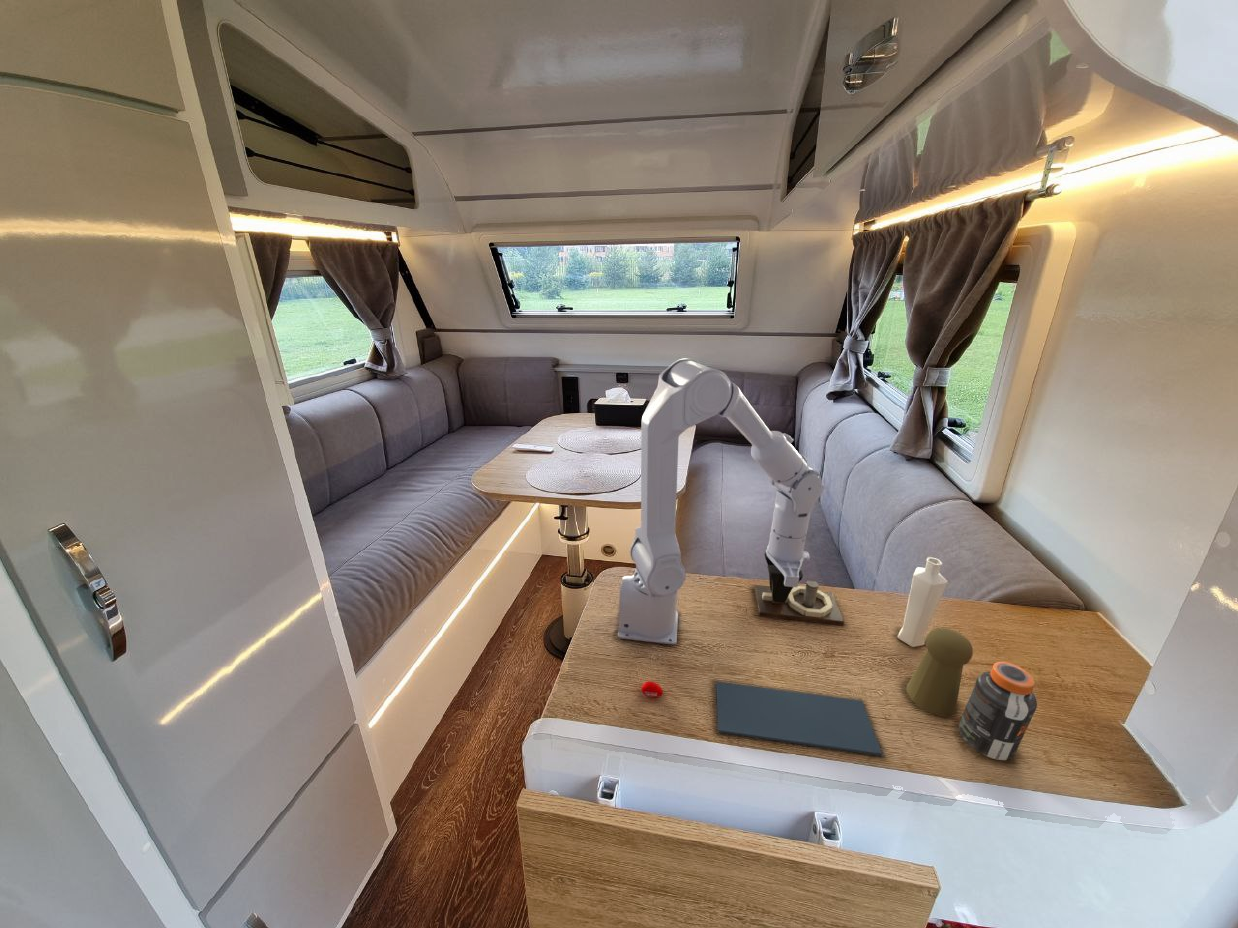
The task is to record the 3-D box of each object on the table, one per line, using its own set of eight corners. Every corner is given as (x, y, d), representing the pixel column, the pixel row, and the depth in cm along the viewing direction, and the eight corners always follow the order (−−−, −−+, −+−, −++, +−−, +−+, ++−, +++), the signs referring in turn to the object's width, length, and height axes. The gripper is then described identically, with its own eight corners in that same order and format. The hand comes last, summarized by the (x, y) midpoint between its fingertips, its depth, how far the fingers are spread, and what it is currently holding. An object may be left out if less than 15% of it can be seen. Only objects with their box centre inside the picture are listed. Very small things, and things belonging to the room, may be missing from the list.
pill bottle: (1017, 771, 57) (1050, 701, 53) (958, 746, 60) (985, 678, 56) (1011, 733, 62) (1041, 667, 57) (956, 712, 65) (981, 647, 60)
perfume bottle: (896, 644, 76) (919, 565, 71) (893, 626, 80) (915, 551, 75) (929, 652, 75) (955, 572, 69) (924, 634, 79) (948, 557, 73)
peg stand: (759, 615, 82) (762, 592, 80) (754, 587, 90) (757, 565, 88) (843, 625, 80) (849, 601, 79) (831, 595, 88) (836, 573, 86)
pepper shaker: (941, 682, 69) (963, 622, 65) (965, 718, 64) (990, 654, 60) (898, 678, 70) (917, 618, 66) (918, 713, 64) (940, 650, 60)
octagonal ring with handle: (824, 592, 87) (828, 578, 86) (835, 619, 81) (839, 603, 79) (759, 586, 89) (762, 571, 88) (765, 611, 82) (767, 596, 81)
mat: (718, 732, 61) (718, 730, 61) (715, 683, 69) (716, 681, 68) (882, 756, 59) (882, 753, 58) (861, 702, 66) (862, 700, 66)
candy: (640, 699, 66) (641, 689, 65) (642, 687, 68) (642, 677, 67) (662, 701, 65) (663, 691, 65) (662, 690, 67) (663, 679, 67)
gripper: (824, 555, 73) (809, 626, 78) (804, 512, 86) (793, 574, 91) (776, 551, 74) (765, 621, 79) (764, 509, 87) (755, 571, 92)
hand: (777, 596), depth 85 cm, fingers closed
